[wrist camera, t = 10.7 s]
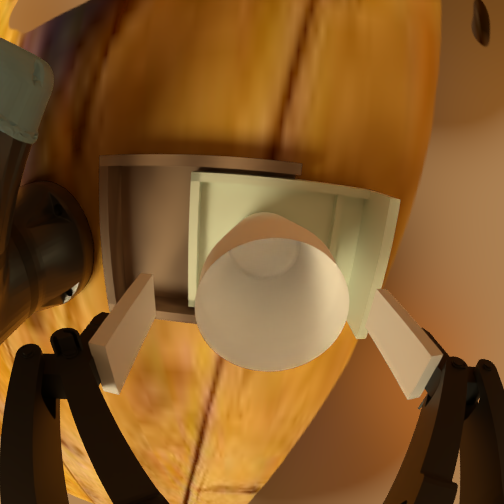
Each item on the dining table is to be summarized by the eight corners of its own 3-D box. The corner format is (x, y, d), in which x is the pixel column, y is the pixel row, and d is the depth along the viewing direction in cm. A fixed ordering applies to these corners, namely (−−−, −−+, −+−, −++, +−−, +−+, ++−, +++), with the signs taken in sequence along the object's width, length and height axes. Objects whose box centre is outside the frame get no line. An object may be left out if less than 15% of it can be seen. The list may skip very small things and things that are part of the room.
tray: (192, 297, 29) (179, 329, 24) (195, 170, 25) (179, 174, 19) (348, 307, 30) (366, 338, 24) (372, 189, 25) (401, 199, 20)
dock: (121, 297, 30) (109, 311, 27) (115, 154, 25) (99, 155, 22) (277, 313, 31) (279, 330, 27) (296, 162, 25) (302, 163, 22)
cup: (301, 294, 28) (327, 376, 17) (211, 283, 28) (189, 364, 16) (320, 206, 25) (371, 247, 14) (221, 192, 25) (196, 222, 14)
